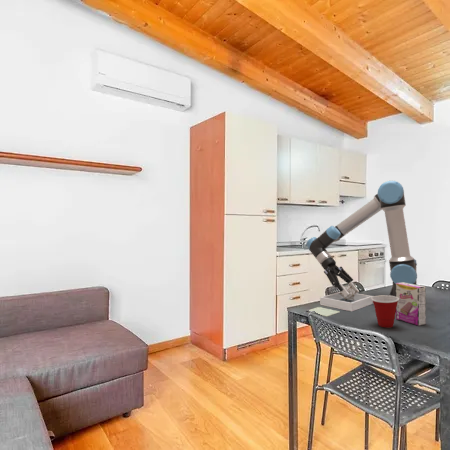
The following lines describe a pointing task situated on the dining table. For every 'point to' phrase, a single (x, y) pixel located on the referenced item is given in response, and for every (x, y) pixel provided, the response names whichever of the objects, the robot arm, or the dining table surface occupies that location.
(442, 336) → the dining table surface
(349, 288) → the wireframe polyhedron
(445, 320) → the dining table surface
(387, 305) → the plastic cup
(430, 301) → the dining table surface
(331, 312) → the pad
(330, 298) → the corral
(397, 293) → the candy bar box
